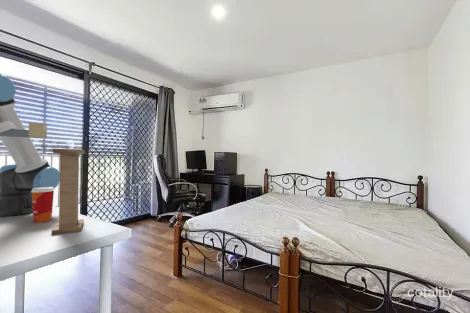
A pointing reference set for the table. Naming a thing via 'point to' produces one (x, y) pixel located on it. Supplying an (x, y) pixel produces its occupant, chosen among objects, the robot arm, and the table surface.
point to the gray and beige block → (28, 131)
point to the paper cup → (42, 204)
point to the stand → (68, 192)
